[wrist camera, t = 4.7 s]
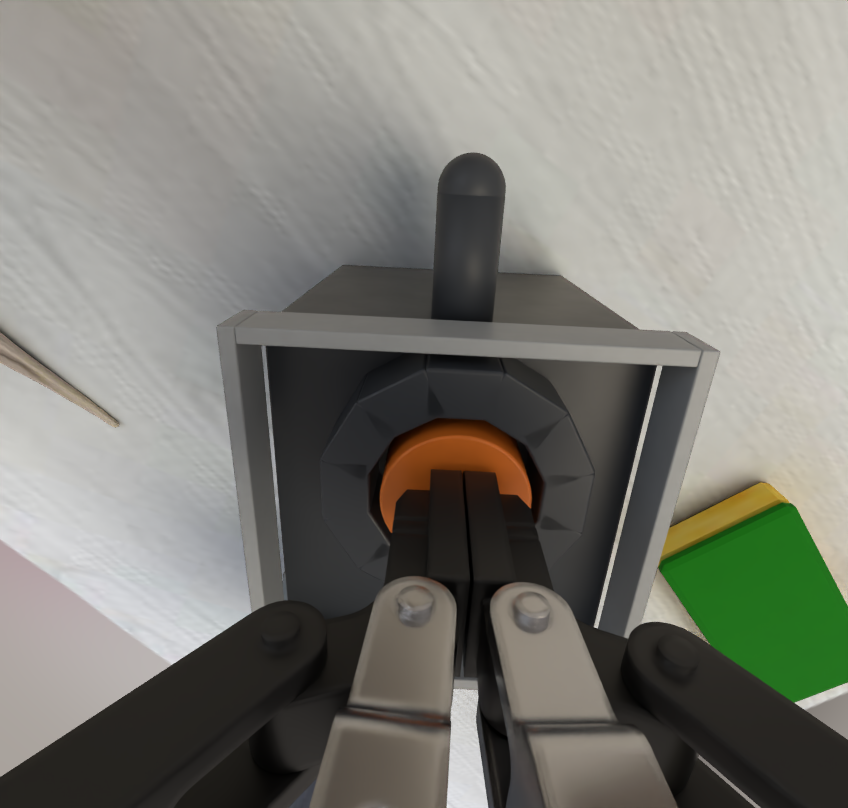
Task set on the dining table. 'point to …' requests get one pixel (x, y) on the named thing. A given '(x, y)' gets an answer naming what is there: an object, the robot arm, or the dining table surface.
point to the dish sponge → (761, 591)
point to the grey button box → (453, 399)
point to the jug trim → (472, 336)
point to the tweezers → (47, 378)
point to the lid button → (451, 459)
